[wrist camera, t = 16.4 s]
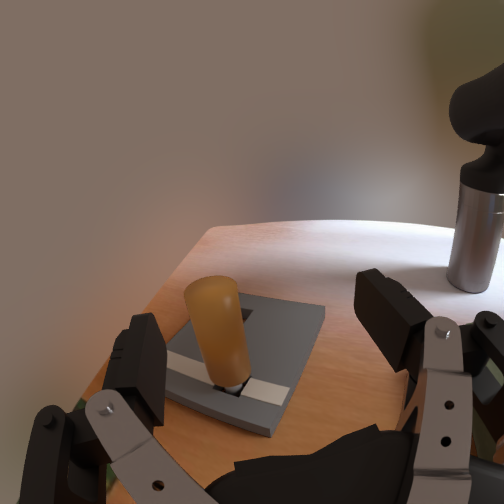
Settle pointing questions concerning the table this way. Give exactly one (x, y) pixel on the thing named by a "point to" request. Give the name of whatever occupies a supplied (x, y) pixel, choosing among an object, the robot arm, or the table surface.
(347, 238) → the table surface
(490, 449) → the handheld radio
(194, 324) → the orange and grey cylinder
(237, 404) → the board
